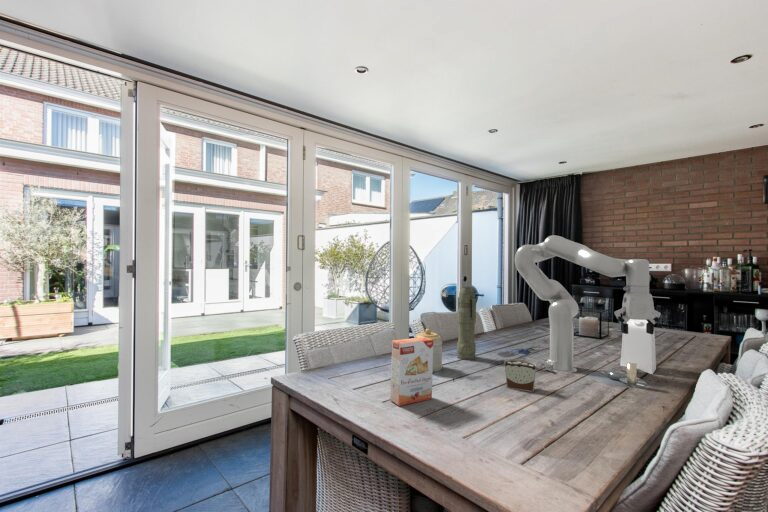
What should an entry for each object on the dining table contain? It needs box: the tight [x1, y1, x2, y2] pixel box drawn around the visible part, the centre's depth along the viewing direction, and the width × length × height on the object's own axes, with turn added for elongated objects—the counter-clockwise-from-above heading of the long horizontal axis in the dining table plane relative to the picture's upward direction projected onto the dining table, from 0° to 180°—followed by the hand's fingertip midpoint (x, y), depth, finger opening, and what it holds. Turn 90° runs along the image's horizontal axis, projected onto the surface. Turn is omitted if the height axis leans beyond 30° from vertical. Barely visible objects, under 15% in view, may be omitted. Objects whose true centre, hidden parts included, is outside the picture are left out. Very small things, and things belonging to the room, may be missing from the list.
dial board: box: [588, 371, 648, 389], centre depth 149 cm, size 20×20×1 cm
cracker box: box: [390, 337, 434, 407], centre depth 127 cm, size 14×6×21 cm, turn 121°
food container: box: [502, 358, 539, 392], centre depth 142 cm, size 12×6×10 cm, turn 65°
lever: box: [607, 362, 638, 386], centre depth 146 cm, size 13×6×8 cm, turn 5°
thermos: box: [456, 286, 477, 361], centre depth 184 cm, size 9×12×35 cm
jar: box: [414, 328, 443, 373], centre depth 165 cm, size 13×13×18 cm
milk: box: [619, 319, 657, 375], centre depth 169 cm, size 12×12×26 cm
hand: (637, 333), depth 146 cm, fingers open, 9 cm apart
